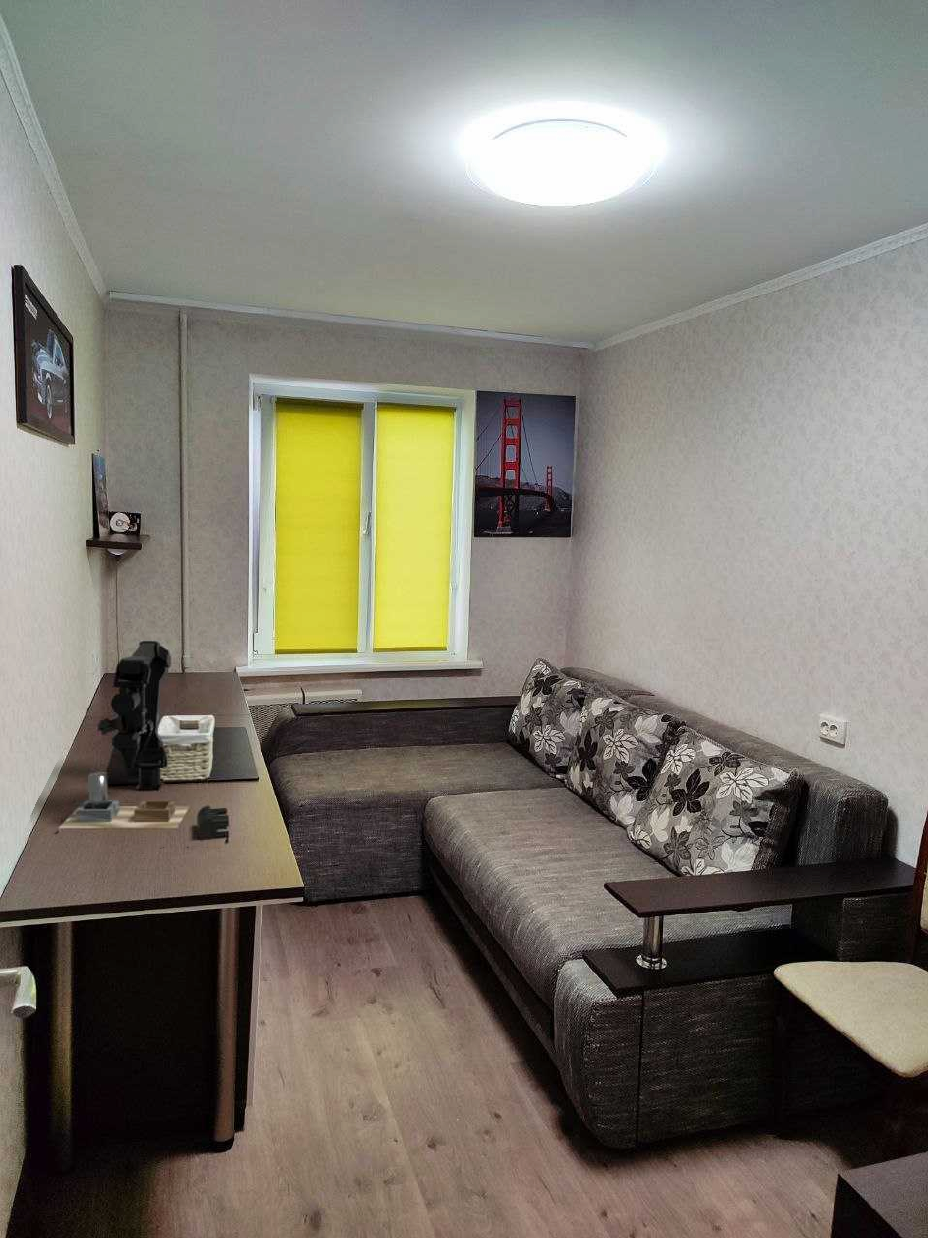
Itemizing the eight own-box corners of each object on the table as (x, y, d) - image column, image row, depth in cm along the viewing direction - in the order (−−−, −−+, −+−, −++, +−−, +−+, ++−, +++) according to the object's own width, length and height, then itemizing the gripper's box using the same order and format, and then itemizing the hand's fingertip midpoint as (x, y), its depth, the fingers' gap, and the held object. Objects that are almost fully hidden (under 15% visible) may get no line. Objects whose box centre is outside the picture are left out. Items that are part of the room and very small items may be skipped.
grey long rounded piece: (97, 812, 228) (97, 771, 227) (111, 815, 227) (111, 773, 225) (85, 818, 224) (84, 775, 223) (99, 820, 223) (98, 778, 221)
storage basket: (211, 781, 263) (211, 732, 261) (153, 783, 259) (153, 733, 258) (215, 759, 286) (215, 714, 284) (162, 760, 282) (162, 714, 281)
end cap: (196, 832, 222) (196, 806, 221) (226, 830, 224) (226, 804, 223) (198, 847, 212) (198, 819, 212) (228, 844, 215) (229, 817, 214)
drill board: (79, 812, 233) (79, 795, 232) (189, 811, 236) (189, 795, 235) (58, 834, 217) (58, 816, 216) (177, 833, 220) (177, 816, 220)
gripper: (111, 698, 242) (111, 754, 244) (90, 714, 224) (91, 774, 226) (153, 699, 243) (153, 754, 245) (136, 714, 225) (136, 774, 227)
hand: (133, 764), depth 236 cm, fingers open, 9 cm apart
